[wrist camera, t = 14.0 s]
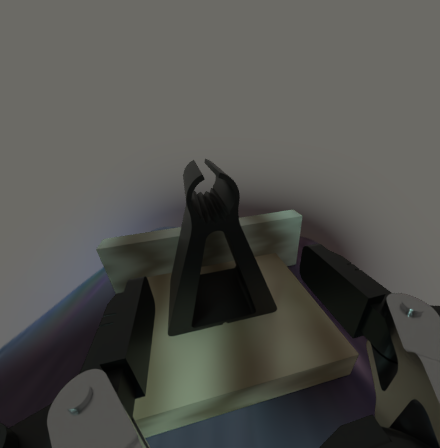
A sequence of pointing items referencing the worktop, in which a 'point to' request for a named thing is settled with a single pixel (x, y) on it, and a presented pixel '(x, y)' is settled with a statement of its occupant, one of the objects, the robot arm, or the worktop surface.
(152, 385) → the wall board
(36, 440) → the robot arm
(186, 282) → the phone stand
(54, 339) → the worktop surface
